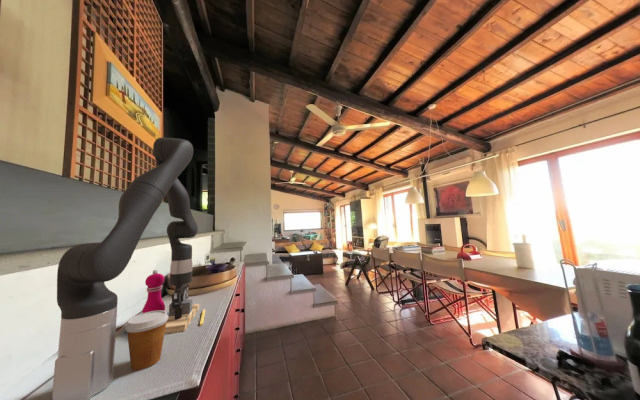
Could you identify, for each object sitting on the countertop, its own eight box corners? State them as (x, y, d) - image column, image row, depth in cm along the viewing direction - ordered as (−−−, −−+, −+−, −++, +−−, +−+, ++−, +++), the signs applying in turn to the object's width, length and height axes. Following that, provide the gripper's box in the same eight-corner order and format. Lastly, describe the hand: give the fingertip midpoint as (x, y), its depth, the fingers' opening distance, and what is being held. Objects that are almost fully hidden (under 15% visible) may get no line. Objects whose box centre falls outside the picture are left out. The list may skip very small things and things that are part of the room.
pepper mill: (169, 318, 88) (170, 267, 91) (154, 326, 81) (156, 271, 83) (152, 318, 89) (154, 268, 91) (136, 326, 82) (138, 272, 84)
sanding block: (189, 315, 85) (189, 302, 85) (168, 318, 83) (169, 305, 83) (192, 311, 89) (192, 299, 89) (172, 314, 87) (172, 301, 87)
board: (185, 330, 77) (185, 324, 77) (158, 335, 75) (158, 328, 75) (199, 308, 98) (199, 303, 98) (178, 311, 96) (178, 306, 96)
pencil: (202, 325, 81) (202, 323, 81) (199, 326, 80) (199, 323, 80) (205, 311, 95) (205, 308, 95) (203, 311, 94) (203, 309, 95)
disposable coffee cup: (144, 376, 54) (146, 325, 55) (112, 373, 56) (115, 323, 57) (175, 353, 63) (176, 310, 65) (147, 351, 65) (149, 309, 66)
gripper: (187, 273, 81) (186, 321, 80) (196, 266, 95) (195, 307, 93) (163, 276, 79) (161, 325, 77) (176, 268, 93) (175, 310, 91)
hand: (180, 315), depth 85 cm, fingers open, 4 cm apart
